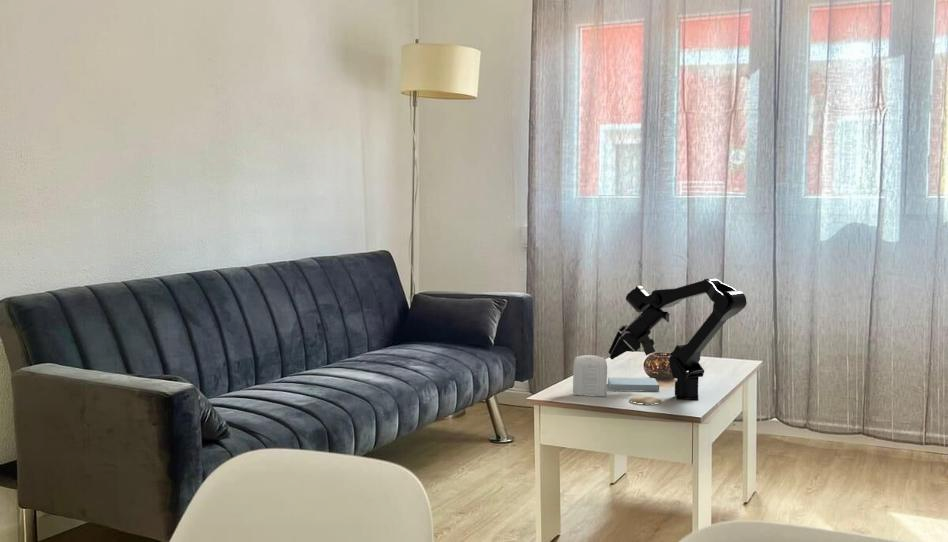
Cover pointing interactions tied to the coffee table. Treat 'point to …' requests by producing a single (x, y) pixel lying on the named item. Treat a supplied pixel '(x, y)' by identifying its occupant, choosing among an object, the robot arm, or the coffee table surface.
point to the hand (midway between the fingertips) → (609, 355)
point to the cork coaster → (645, 400)
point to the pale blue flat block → (633, 384)
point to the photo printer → (590, 375)
